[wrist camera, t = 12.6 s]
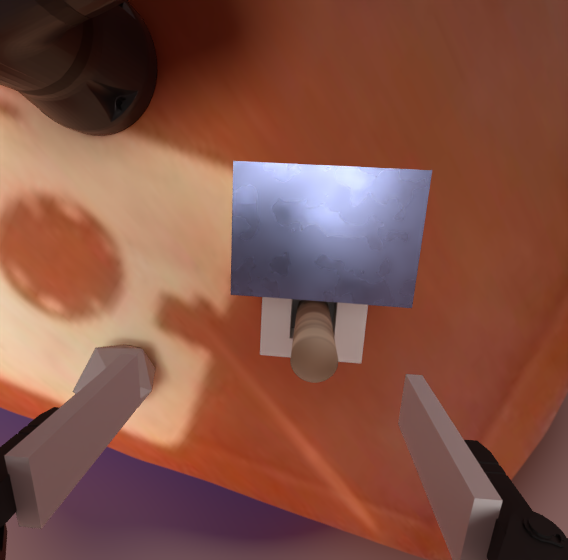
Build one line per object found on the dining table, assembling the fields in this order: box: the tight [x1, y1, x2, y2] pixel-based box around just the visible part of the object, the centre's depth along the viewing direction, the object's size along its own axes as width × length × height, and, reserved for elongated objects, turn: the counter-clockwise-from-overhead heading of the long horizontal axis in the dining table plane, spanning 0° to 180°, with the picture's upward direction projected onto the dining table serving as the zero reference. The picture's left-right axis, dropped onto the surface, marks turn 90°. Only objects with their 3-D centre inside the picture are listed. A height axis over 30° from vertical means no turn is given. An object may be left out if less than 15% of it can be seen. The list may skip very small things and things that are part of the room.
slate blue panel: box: [231, 161, 432, 308], centre depth 32 cm, size 14×10×16 cm
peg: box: [291, 300, 338, 383], centre depth 35 cm, size 4×4×14 cm
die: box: [73, 345, 155, 407], centre depth 42 cm, size 8×9×10 cm
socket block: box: [260, 297, 368, 363], centre depth 39 cm, size 12×14×4 cm
